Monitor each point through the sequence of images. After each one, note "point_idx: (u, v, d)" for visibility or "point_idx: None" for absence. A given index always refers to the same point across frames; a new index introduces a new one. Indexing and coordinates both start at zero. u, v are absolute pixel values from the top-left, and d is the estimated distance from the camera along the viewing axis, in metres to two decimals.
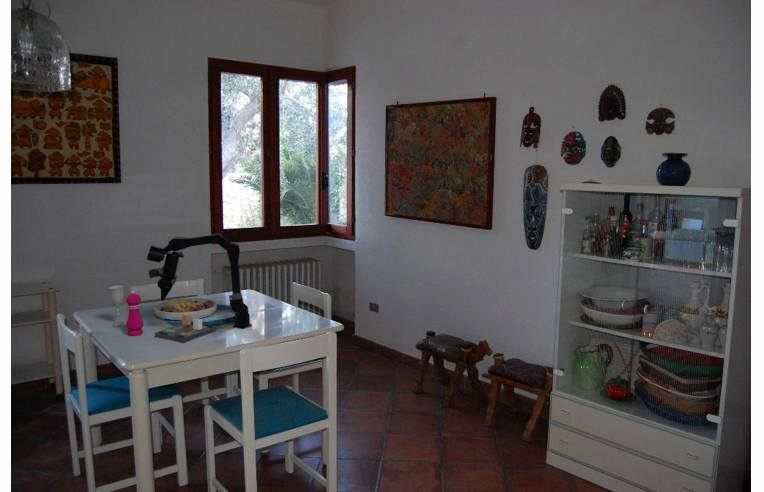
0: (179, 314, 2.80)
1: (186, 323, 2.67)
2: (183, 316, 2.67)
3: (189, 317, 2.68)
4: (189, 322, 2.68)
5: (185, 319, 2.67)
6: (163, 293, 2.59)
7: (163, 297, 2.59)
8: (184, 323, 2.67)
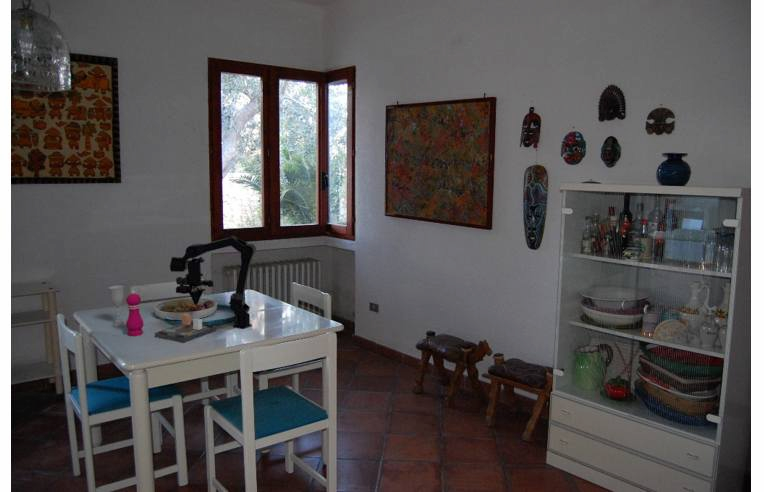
0: (179, 314, 2.80)
1: (186, 323, 2.67)
2: (183, 316, 2.67)
3: (189, 317, 2.68)
4: (189, 322, 2.68)
5: (185, 319, 2.67)
6: (193, 297, 2.71)
7: (194, 301, 2.71)
8: (184, 323, 2.67)
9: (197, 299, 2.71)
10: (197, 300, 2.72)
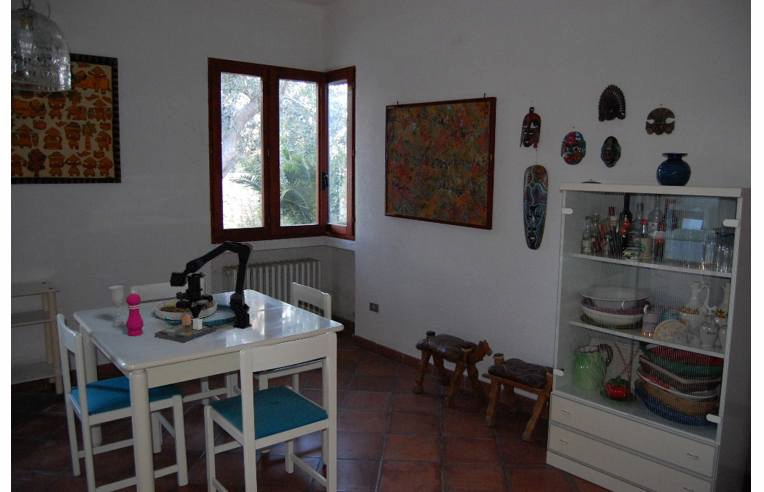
0: (179, 314, 2.80)
1: (186, 323, 2.67)
2: (183, 316, 2.67)
3: (189, 317, 2.68)
4: (189, 322, 2.68)
5: (185, 319, 2.67)
6: (193, 312, 2.72)
7: (194, 316, 2.72)
8: (184, 323, 2.67)
9: (197, 314, 2.72)
10: (197, 315, 2.72)
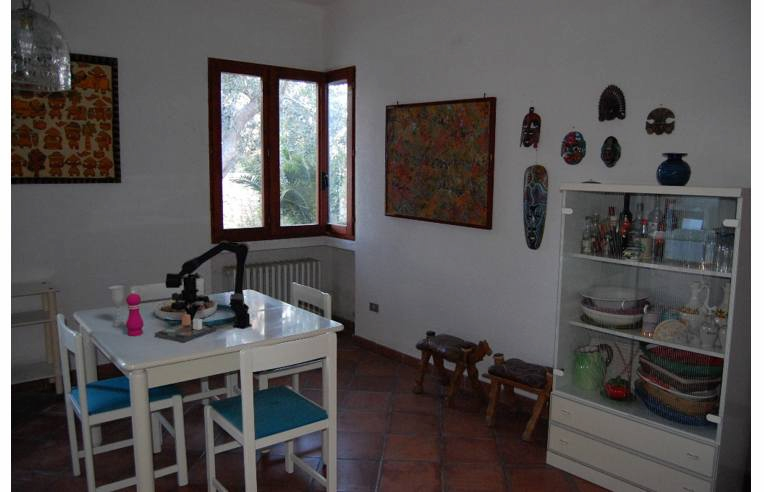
0: (179, 314, 2.80)
1: (186, 323, 2.67)
2: (183, 316, 2.67)
3: (189, 317, 2.67)
4: (189, 322, 2.68)
5: (185, 319, 2.66)
6: (188, 313, 2.69)
7: (190, 317, 2.70)
8: (184, 323, 2.67)
9: (193, 315, 2.70)
10: (192, 316, 2.70)
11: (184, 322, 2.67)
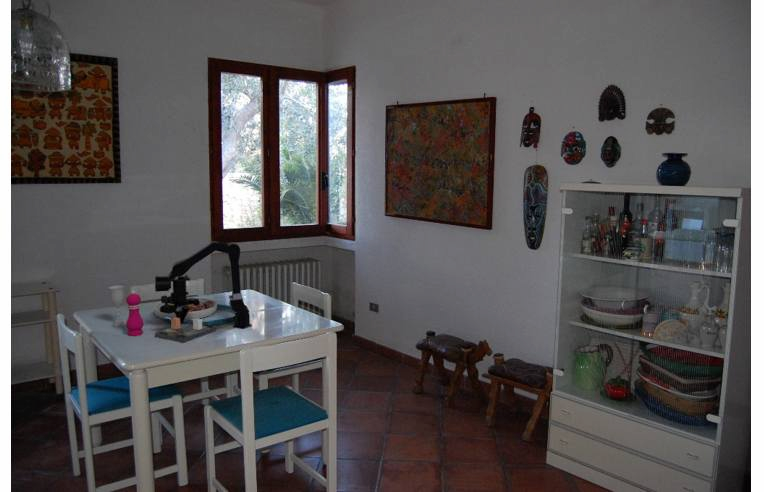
0: None
1: (175, 327, 2.61)
2: (172, 320, 2.61)
3: (178, 321, 2.62)
4: (178, 326, 2.62)
5: (174, 323, 2.61)
6: (178, 317, 2.64)
7: (180, 320, 2.64)
8: (173, 327, 2.61)
9: (182, 318, 2.64)
10: (182, 319, 2.64)
11: (174, 325, 2.61)
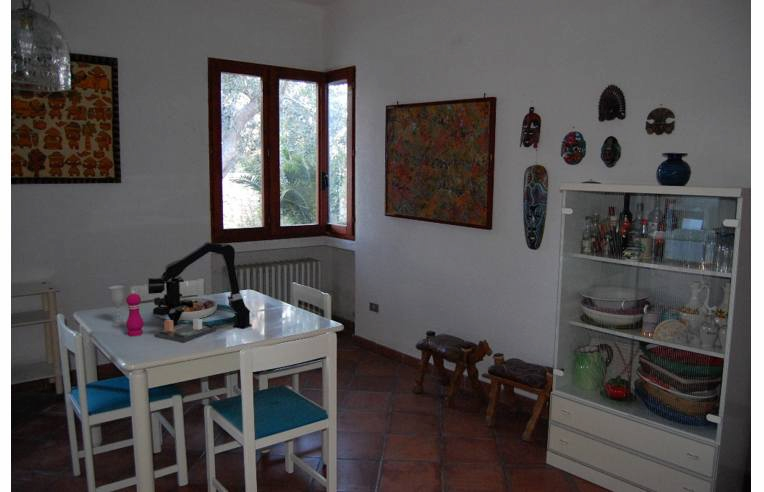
0: None
1: (168, 329, 2.57)
2: (165, 322, 2.58)
3: (171, 323, 2.58)
4: (171, 328, 2.58)
5: (167, 325, 2.57)
6: (171, 319, 2.60)
7: (173, 323, 2.61)
8: (166, 329, 2.58)
9: (176, 320, 2.60)
10: (176, 321, 2.61)
11: (167, 328, 2.58)
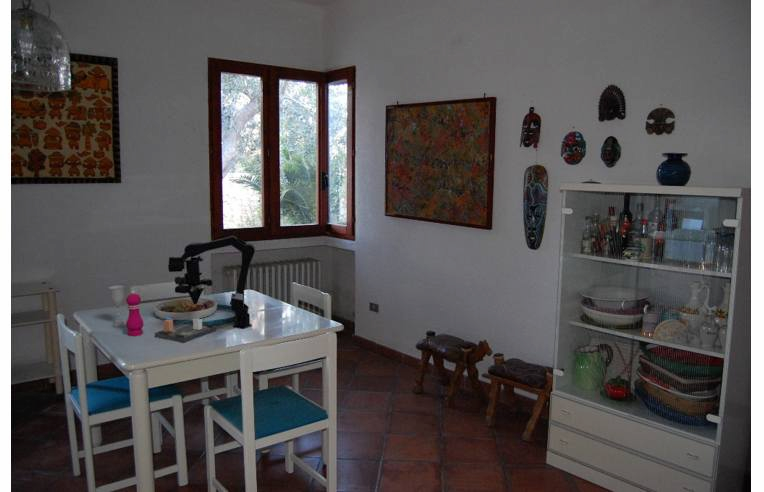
0: (179, 314, 2.80)
1: (168, 329, 2.57)
2: (165, 322, 2.57)
3: (171, 323, 2.58)
4: (171, 328, 2.58)
5: (167, 325, 2.57)
6: (192, 297, 2.68)
7: (194, 301, 2.68)
8: (166, 329, 2.58)
9: (196, 298, 2.68)
10: (196, 299, 2.68)
11: (166, 328, 2.58)
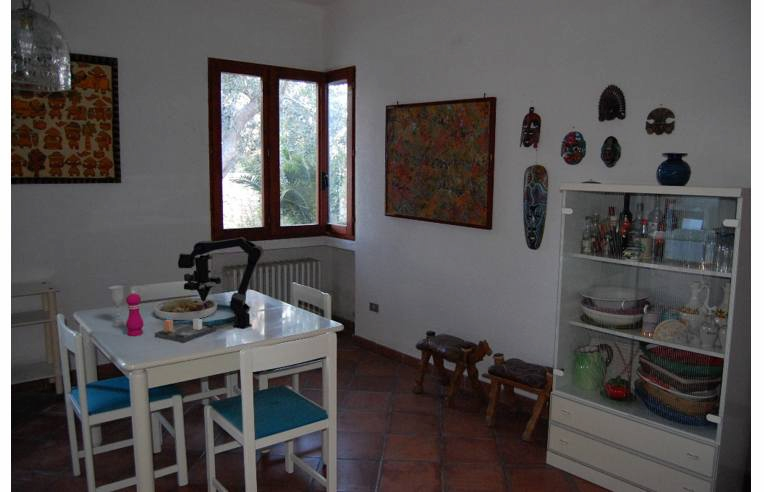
0: (179, 314, 2.80)
1: (168, 329, 2.57)
2: (165, 322, 2.57)
3: (171, 323, 2.58)
4: (171, 328, 2.58)
5: (167, 325, 2.57)
6: (201, 294, 2.71)
7: (202, 298, 2.72)
8: (166, 329, 2.58)
9: (205, 296, 2.71)
10: (205, 297, 2.72)
11: (166, 328, 2.58)
